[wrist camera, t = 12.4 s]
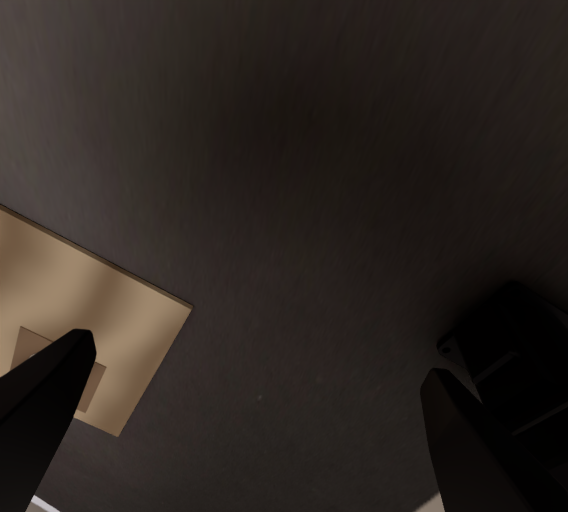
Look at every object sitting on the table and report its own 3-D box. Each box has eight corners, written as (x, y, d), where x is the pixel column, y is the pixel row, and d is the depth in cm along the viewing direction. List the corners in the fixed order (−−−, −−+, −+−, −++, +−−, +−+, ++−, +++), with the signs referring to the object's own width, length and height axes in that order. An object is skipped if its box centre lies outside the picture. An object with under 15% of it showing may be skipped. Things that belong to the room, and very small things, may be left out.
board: (193, 306, 25) (191, 310, 25) (120, 432, 34) (117, 437, 33) (-6, 201, 23) (-13, 204, 22) (-30, 365, 32) (-35, 369, 31)
